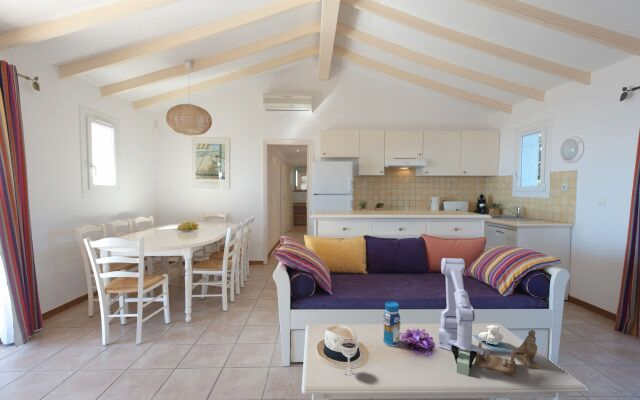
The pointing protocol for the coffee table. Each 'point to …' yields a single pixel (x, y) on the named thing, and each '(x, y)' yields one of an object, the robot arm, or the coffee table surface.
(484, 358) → the shelf frame
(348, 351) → the wineglass
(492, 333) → the bust
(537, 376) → the coffee table surface
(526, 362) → the brown carved statuette
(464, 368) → the pale green rectangular block
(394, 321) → the beverage bottle
